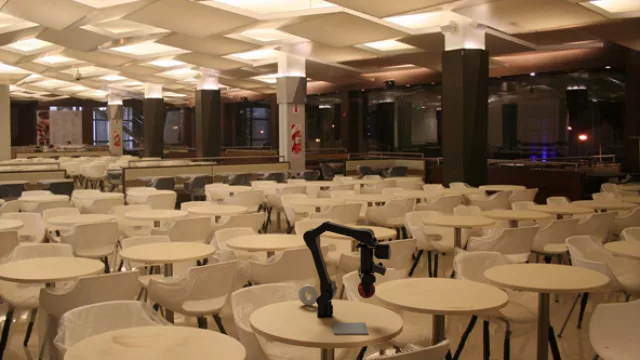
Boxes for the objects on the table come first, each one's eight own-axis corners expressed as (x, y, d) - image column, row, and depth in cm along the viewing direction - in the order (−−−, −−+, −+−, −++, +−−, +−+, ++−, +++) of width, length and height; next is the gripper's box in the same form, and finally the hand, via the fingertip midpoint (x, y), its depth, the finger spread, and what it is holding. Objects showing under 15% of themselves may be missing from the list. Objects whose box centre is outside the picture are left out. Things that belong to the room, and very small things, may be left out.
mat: (334, 334, 278) (334, 333, 278) (332, 324, 292) (332, 322, 292) (368, 334, 278) (368, 333, 278) (365, 323, 292) (365, 322, 292)
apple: (354, 296, 299) (354, 278, 298) (370, 294, 302) (370, 277, 302) (362, 301, 293) (362, 282, 292) (378, 299, 296) (378, 281, 295)
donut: (297, 305, 320) (297, 284, 319) (299, 303, 323) (299, 282, 322) (317, 307, 316) (317, 286, 315) (319, 305, 320) (319, 284, 318)
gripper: (388, 262, 286) (387, 299, 288) (382, 253, 305) (382, 287, 307) (361, 263, 286) (361, 299, 288) (357, 253, 305) (357, 287, 306)
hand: (366, 293), depth 297 cm, fingers closed on apple, 7 cm apart
